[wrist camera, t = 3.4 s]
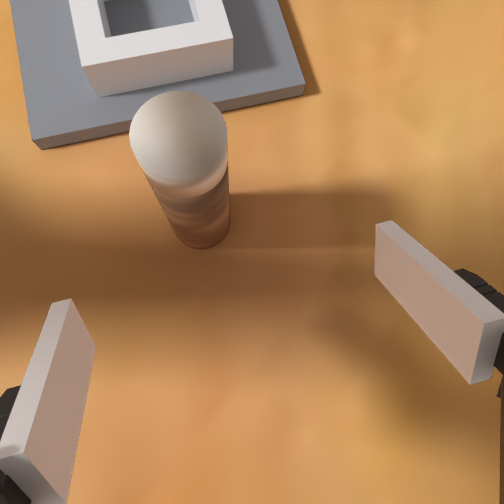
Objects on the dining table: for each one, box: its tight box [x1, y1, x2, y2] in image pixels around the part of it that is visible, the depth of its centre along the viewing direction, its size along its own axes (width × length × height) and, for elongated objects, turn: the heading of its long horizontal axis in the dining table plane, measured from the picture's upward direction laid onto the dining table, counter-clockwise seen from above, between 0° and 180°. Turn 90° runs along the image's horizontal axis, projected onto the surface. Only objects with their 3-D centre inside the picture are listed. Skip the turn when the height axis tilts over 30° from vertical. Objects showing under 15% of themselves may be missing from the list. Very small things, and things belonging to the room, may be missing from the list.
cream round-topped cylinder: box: [129, 91, 230, 249], centre depth 24 cm, size 4×4×13 cm
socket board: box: [10, 0, 306, 150], centre depth 31 cm, size 22×16×5 cm
